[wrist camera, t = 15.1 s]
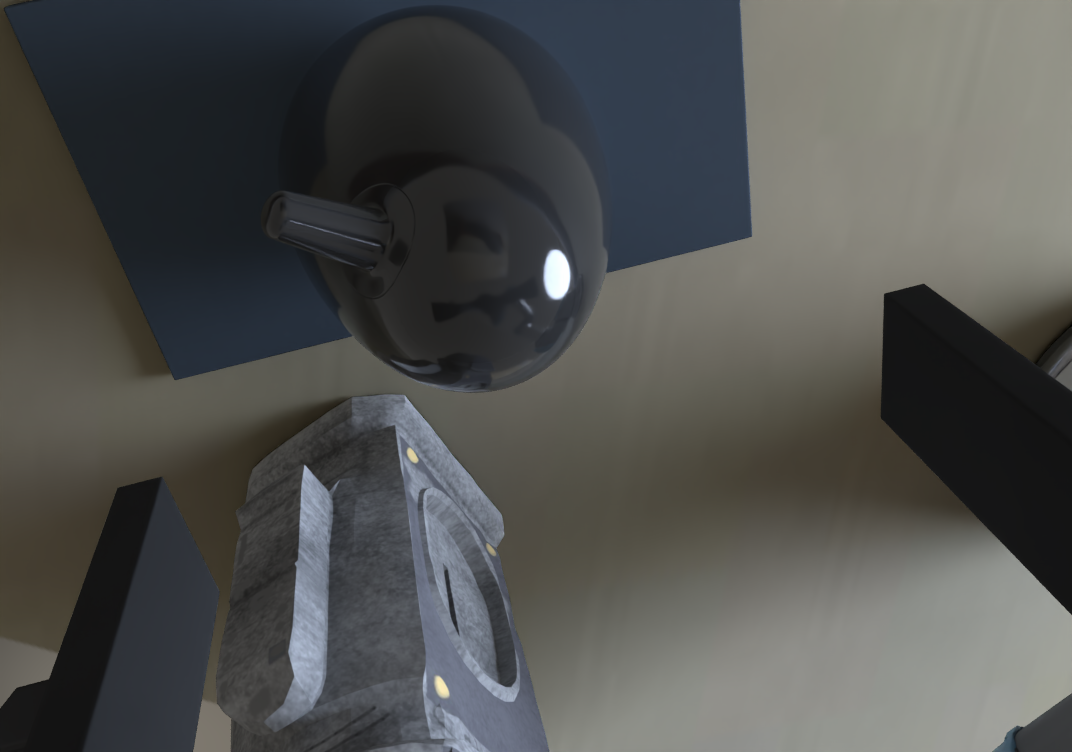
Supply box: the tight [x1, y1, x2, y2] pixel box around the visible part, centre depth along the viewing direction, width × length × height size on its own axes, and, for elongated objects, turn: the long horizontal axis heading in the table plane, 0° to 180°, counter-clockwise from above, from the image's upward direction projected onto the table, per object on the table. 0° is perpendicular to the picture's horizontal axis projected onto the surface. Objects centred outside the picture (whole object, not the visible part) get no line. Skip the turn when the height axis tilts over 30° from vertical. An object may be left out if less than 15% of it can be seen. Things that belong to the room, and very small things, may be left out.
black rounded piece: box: [260, 5, 612, 393], centre depth 26 cm, size 10×10×15 cm
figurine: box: [216, 394, 549, 752], centre depth 30 cm, size 10×14×25 cm
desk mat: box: [4, 0, 752, 380], centre depth 33 cm, size 24×14×1 cm, turn 101°
